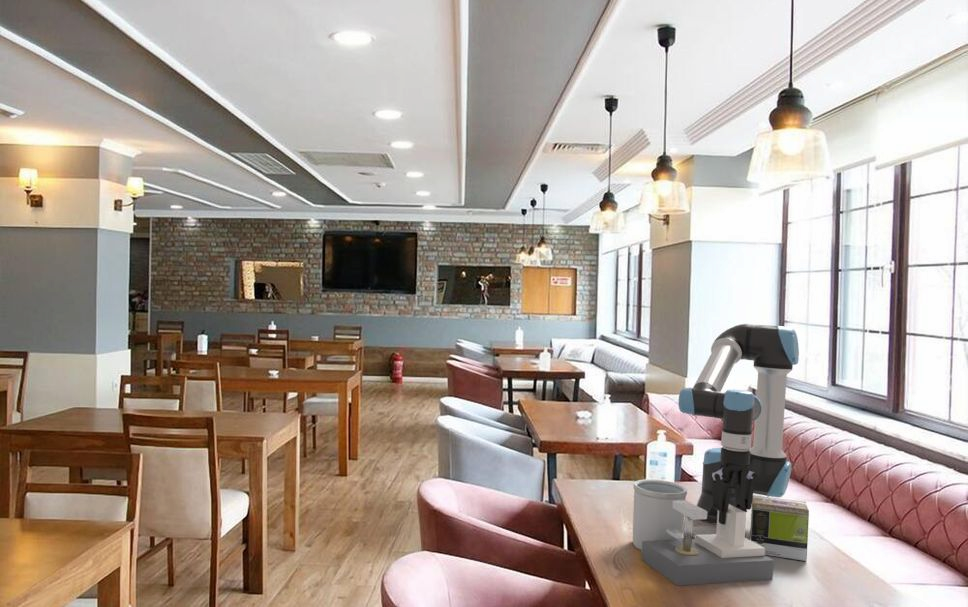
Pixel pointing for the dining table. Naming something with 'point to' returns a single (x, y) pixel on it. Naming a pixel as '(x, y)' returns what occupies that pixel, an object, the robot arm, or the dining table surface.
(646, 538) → the utensil holder
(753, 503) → the tea box
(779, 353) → the robot arm
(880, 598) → the dining table surface
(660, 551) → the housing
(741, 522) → the cover
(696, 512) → the t key
